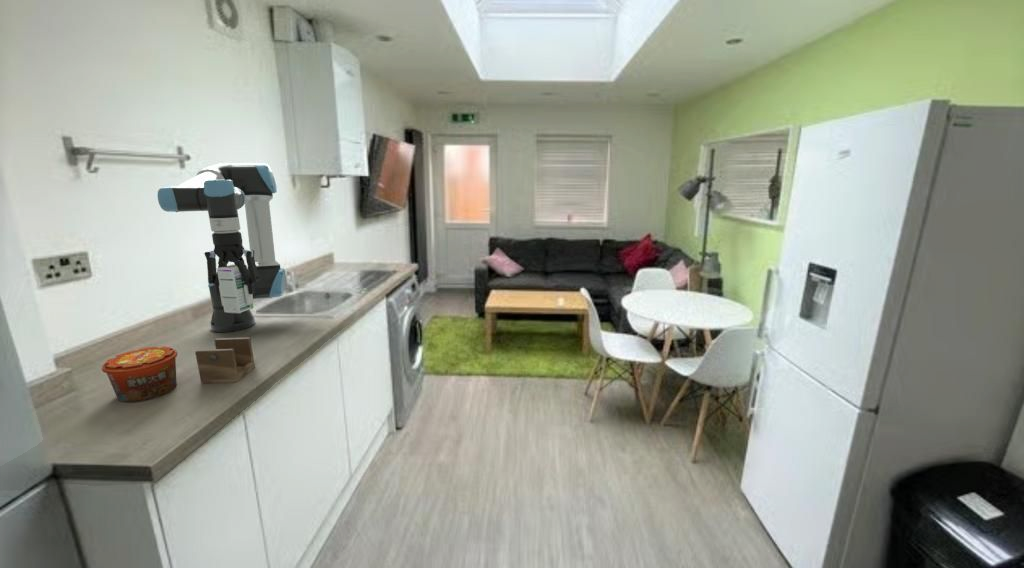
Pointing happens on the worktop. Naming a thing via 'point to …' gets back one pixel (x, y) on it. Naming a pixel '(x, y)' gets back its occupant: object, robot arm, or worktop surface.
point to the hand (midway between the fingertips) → (238, 304)
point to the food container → (142, 373)
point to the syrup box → (232, 289)
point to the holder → (226, 360)
